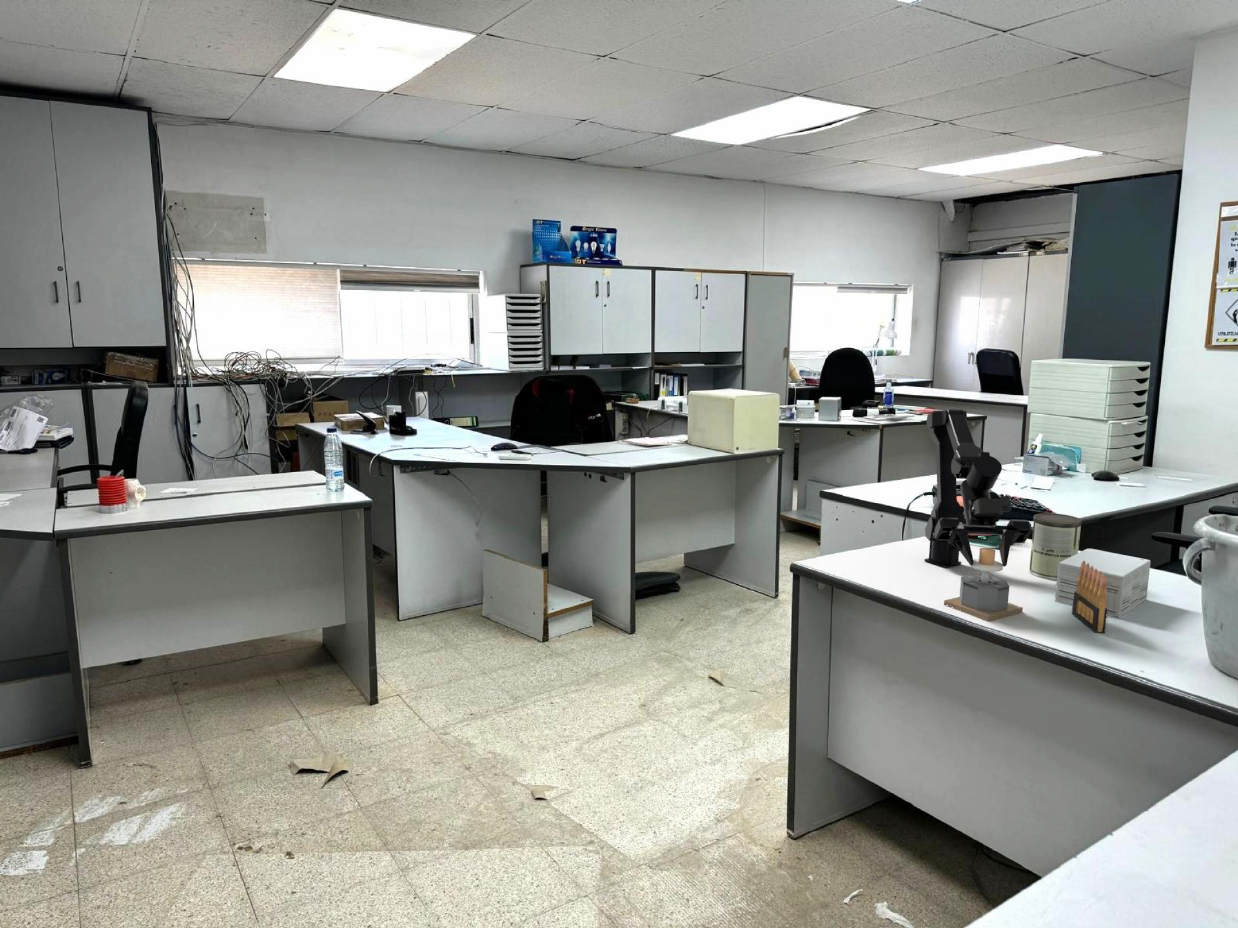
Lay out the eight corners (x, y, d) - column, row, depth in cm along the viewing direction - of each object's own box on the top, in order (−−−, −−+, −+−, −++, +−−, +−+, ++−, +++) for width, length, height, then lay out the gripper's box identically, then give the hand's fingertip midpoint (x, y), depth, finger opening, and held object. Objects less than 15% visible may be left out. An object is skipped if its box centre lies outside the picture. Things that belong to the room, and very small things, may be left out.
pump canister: (943, 604, 178) (945, 578, 177) (977, 596, 183) (980, 570, 182) (987, 620, 168) (990, 593, 167) (1022, 612, 174) (1024, 584, 172)
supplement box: (1083, 585, 191) (1087, 547, 190) (1147, 600, 181) (1151, 559, 180) (1053, 602, 180) (1057, 561, 179) (1119, 618, 170) (1124, 575, 169)
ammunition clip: (1105, 633, 162) (1111, 575, 160) (1095, 633, 162) (1101, 574, 160) (1080, 614, 172) (1086, 559, 170) (1071, 613, 173) (1077, 559, 170)
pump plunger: (961, 587, 176) (964, 548, 175) (981, 582, 179) (984, 544, 178) (987, 595, 171) (990, 555, 169) (1007, 591, 174) (1010, 551, 172)
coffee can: (1021, 567, 205) (1026, 512, 202) (1065, 568, 204) (1070, 513, 201) (1038, 580, 195) (1044, 522, 192) (1084, 581, 194) (1090, 523, 191)
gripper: (941, 481, 176) (951, 544, 167) (1033, 483, 174) (1048, 548, 165) (930, 508, 185) (939, 570, 176) (1017, 511, 183) (1030, 573, 174)
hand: (988, 564), depth 173 cm, fingers closed on pump plunger, 6 cm apart
